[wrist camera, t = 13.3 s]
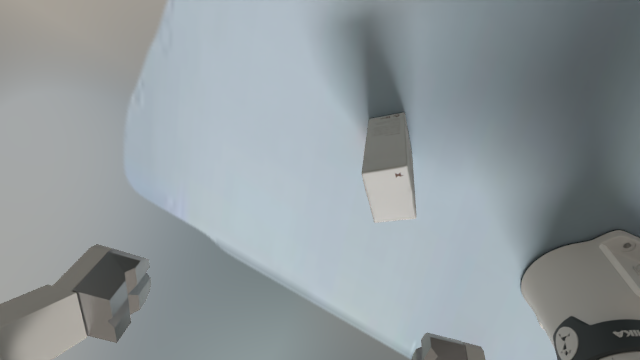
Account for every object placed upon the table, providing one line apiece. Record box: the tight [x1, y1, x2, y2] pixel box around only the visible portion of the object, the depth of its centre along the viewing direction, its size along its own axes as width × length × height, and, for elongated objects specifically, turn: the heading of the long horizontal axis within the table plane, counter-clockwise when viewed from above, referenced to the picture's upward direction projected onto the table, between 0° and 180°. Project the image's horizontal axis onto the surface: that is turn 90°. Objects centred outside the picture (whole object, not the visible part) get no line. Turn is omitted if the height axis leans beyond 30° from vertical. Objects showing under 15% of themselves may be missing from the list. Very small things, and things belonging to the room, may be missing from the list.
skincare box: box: [362, 112, 416, 223], centre depth 40 cm, size 6×4×12 cm
